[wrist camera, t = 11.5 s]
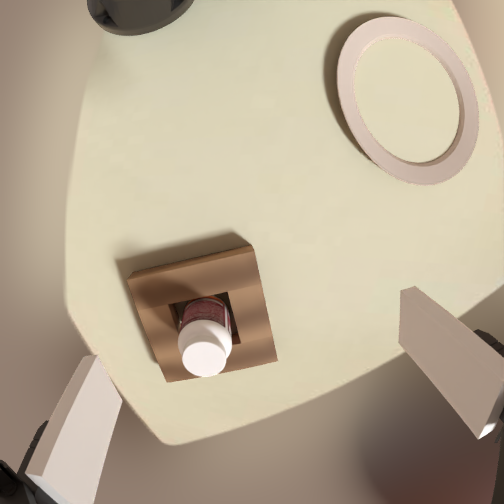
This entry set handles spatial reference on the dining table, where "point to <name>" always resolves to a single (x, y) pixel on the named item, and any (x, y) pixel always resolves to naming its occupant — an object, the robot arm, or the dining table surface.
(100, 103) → the dining table surface
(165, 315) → the socket block
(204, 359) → the pill bottle
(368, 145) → the plate
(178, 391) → the dining table surface
